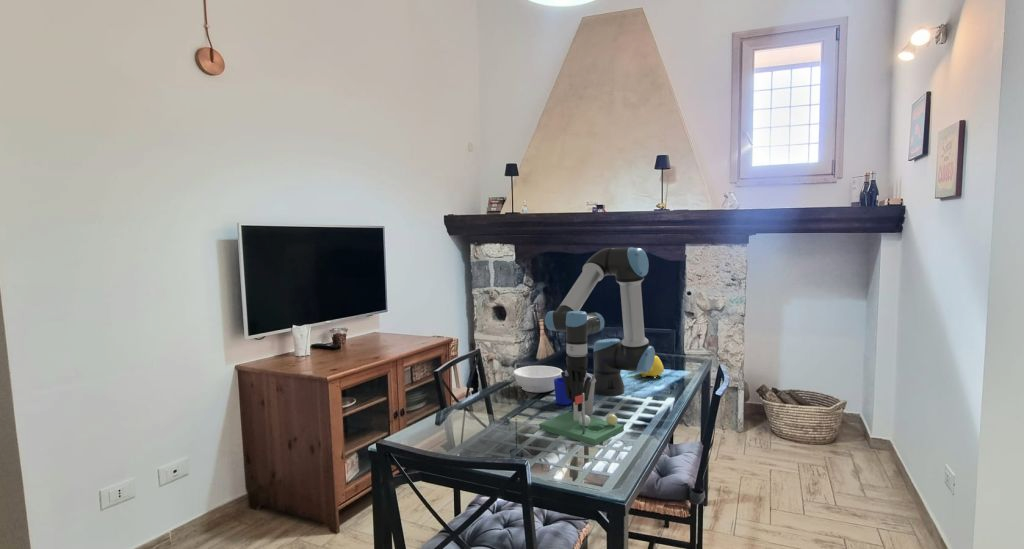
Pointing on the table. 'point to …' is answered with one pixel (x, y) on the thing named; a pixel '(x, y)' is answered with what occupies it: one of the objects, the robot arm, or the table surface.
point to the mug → (561, 392)
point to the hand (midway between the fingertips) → (577, 419)
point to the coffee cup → (590, 398)
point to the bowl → (537, 378)
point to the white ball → (587, 420)
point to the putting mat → (573, 429)
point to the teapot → (654, 368)
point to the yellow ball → (611, 419)
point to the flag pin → (579, 400)
